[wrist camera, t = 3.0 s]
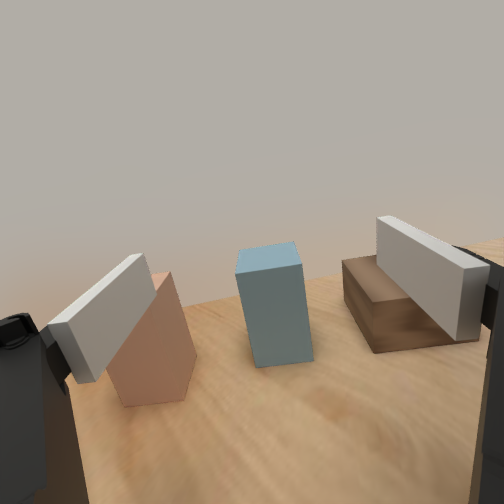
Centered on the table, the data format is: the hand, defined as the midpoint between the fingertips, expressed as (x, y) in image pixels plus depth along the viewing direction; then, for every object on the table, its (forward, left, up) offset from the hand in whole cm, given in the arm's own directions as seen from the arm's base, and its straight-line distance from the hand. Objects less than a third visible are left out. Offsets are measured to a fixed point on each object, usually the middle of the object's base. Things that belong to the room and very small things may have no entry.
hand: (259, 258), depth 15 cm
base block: (-14, -13, -15) cm, 24 cm away
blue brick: (0, -11, -15) cm, 19 cm away
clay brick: (+13, -8, -15) cm, 22 cm away
